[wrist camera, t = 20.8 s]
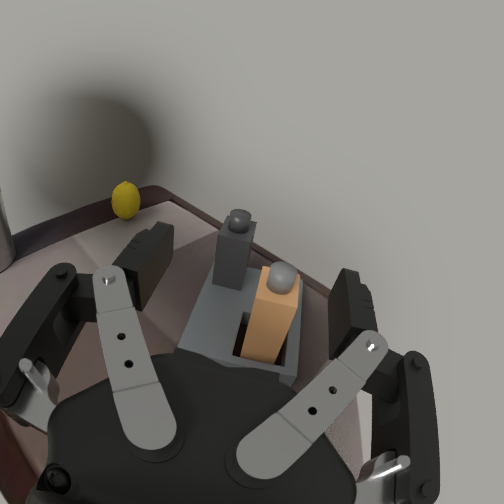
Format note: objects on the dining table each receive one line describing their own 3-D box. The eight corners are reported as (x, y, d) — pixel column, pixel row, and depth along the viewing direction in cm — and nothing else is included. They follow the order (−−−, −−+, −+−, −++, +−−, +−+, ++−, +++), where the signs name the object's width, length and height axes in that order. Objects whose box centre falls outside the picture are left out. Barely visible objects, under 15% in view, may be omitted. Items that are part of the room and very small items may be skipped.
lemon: (108, 218, 52) (105, 181, 48) (130, 209, 56) (130, 173, 52) (122, 230, 50) (120, 190, 46) (146, 220, 54) (145, 182, 50)
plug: (238, 361, 33) (259, 281, 26) (246, 331, 38) (266, 250, 30) (271, 369, 33) (303, 292, 26) (276, 338, 37) (305, 259, 30)
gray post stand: (177, 359, 32) (175, 281, 25) (213, 271, 46) (223, 199, 39) (290, 387, 32) (329, 317, 24) (298, 291, 45) (323, 222, 38)
